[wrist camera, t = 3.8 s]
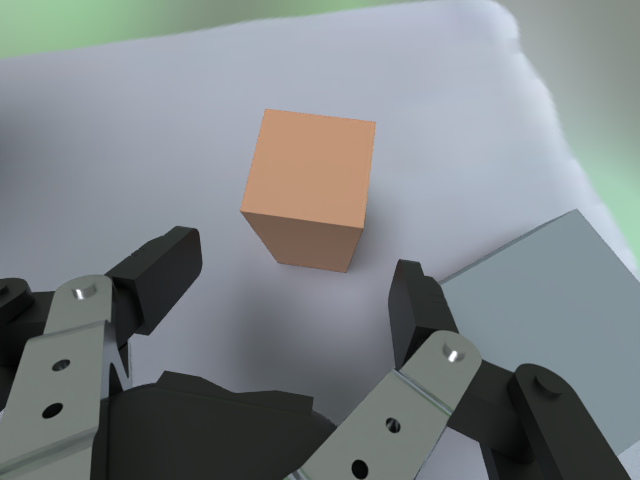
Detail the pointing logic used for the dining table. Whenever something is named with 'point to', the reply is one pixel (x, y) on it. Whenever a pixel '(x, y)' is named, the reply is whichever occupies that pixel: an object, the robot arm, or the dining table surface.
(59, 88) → the dining table surface
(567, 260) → the slate top slab
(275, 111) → the terracotta block
